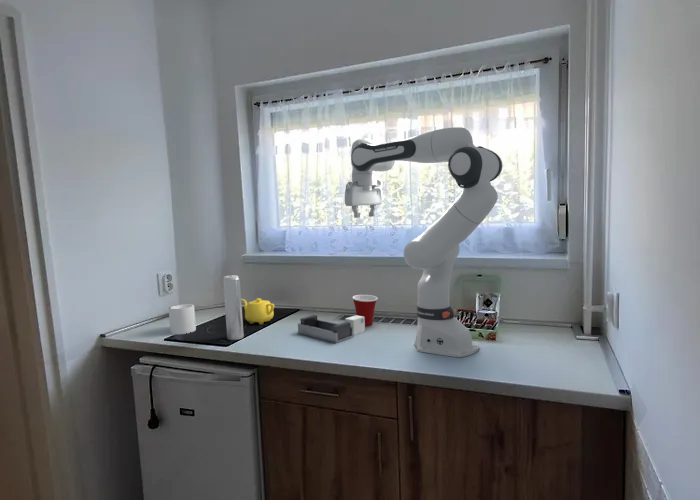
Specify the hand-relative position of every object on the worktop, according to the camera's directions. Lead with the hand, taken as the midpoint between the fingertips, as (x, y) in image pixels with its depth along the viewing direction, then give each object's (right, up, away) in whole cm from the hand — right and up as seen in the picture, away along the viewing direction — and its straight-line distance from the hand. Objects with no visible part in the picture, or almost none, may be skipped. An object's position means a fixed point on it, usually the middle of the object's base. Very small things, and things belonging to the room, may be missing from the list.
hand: (364, 217), depth 173 cm
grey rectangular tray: (-16, -47, +1) cm, 49 cm away
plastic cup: (+1, -45, +14) cm, 47 cm away
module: (-4, -46, +3) cm, 46 cm away
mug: (-78, -48, +17) cm, 93 cm away
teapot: (-47, -46, +26) cm, 71 cm away
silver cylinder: (-52, -48, +3) cm, 71 cm away
